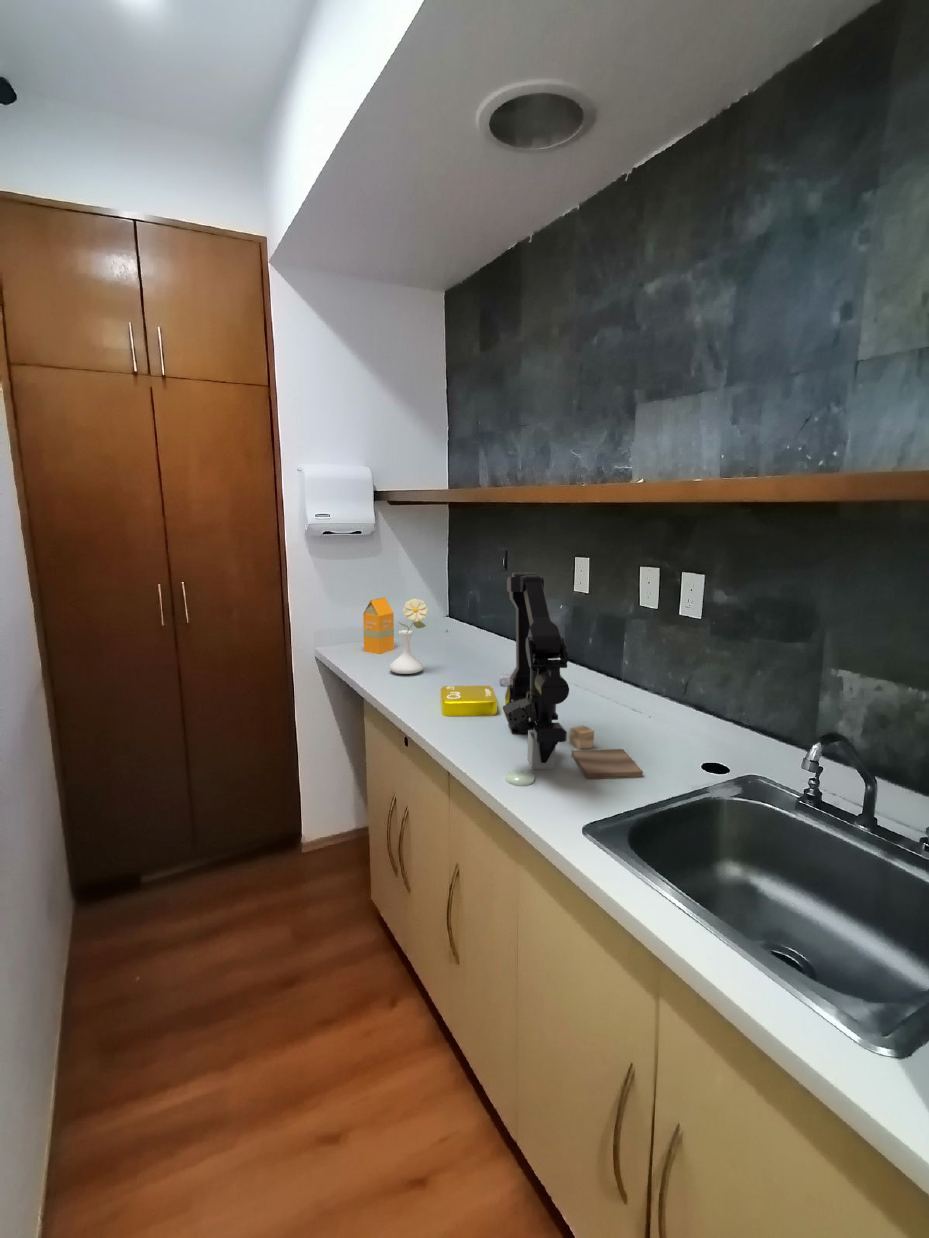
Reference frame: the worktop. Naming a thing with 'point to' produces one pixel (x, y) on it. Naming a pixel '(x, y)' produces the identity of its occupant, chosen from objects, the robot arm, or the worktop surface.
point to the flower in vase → (406, 661)
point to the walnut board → (606, 764)
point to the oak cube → (581, 737)
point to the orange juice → (378, 627)
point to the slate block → (538, 755)
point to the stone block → (505, 678)
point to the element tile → (468, 701)
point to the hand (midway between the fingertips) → (540, 757)
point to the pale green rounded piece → (519, 778)
